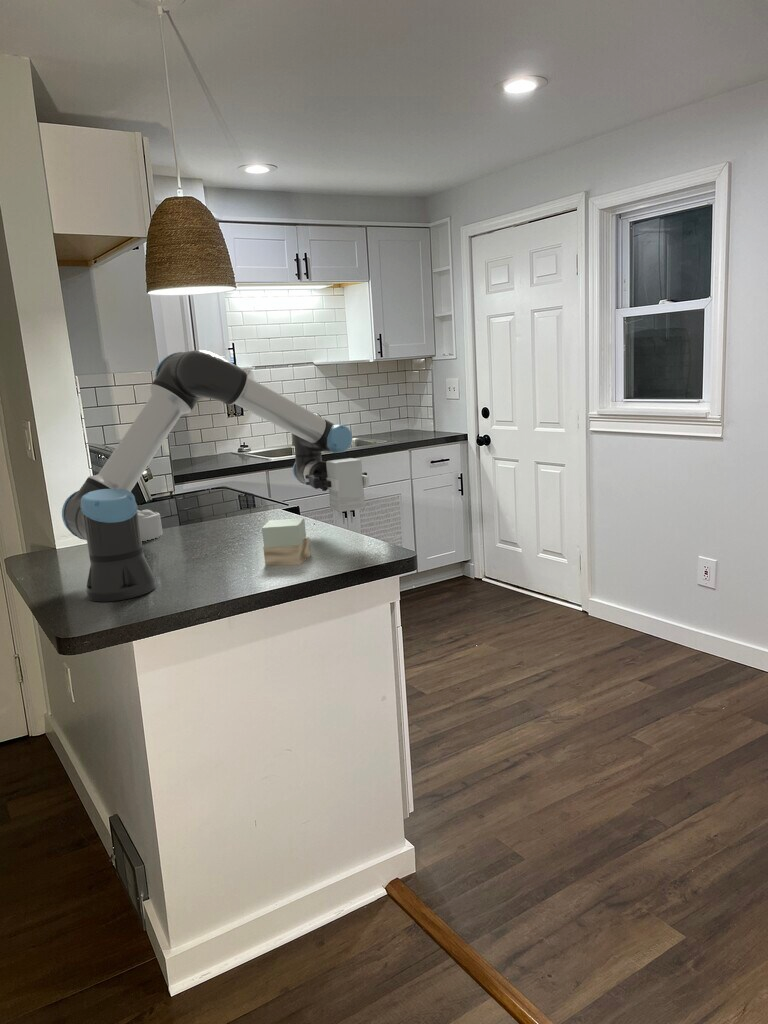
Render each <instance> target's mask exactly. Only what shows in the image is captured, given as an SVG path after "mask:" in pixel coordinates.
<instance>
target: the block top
mask: <svg viewBox="0 0 768 1024" xmlns="http://www.w3.org/2000/svg"><path fill="white" fill-rule="evenodd" d="M305 522H306V521H305V517H297V518H296V517H295V518H287V519H286V518H284V519H283V518H282V519H270V520H268V521H267V523H265V524H264V525H263V526H262V527H261V532H262V538H263V540H262V541H263V547H264V548H267V547H281V546H296V545H301V543H302V542H303V541H304V539H305V538H307V531H306V523H305Z"/></svg>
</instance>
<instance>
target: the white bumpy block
mask: <svg viewBox="0 0 768 1024" xmlns="http://www.w3.org/2000/svg"><path fill="white" fill-rule="evenodd" d="M137 512H138V519H139V526H140V533H141V540H142V541H145V540H149V539H152V538H155V537H158V536H160V535H162V534H163V526H162V519H161V514H160V513H159V512H157V511H152V510H150V509H143V510H137ZM163 535H164V534H163Z"/></svg>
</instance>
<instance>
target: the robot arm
mask: <svg viewBox="0 0 768 1024" xmlns="http://www.w3.org/2000/svg"><path fill="white" fill-rule="evenodd" d="M154 376H155V378H154V380H153V381H152V383H151V384H150V386H149V389H150V394H151V396H150V397H149V399H148V400H147V402H146V403H145V404H144V406H143V408H142V409H141V410H140V412H139V413H138V415H137V416H136V418H135V419H134V421H133V423H131V425H130V426H129V428H128V430H127V431H126V433H125V434H124V436H123V437H122V439H121V440H120V441H119V443H118V444H117V446H116V447H115V449H114V450H113V452H112V453H111V455H110V456H109V458H108V459H107V461H106V462H105V464H104V465H103V466H102V468H101V469H100V471H99V472H98V474H96V475H95V474H93V475H90V476H88V477H87V478H86V480H85V481H84V483H83V484H82V485H81V487H80V488H79V490H77V491H75V492H73V493H71V494H70V495H69V496H68V497H67V498H66V500H65V501H64V503H63V505H62V509H61V517H62V521H63V524H64V526H65V528H66V529H67V530H68V531H69V532H70V533H71V534H72V535H73V536H75V537H77V538H78V539H80V540H84V541H86V544H87V550H88V555H89V556H88V557H89V562H90V566H89V571H88V575H87V576H88V577H87V582H86V589H85V590H86V597H87V599H88V600H89V601H93V602H105V603H106V602H117V601H123V600H128V599H129V600H130V599H133V598H136V597H140V596H143V595H145V594H148V593H150V592H152V591H153V590H155V589H156V587H157V584H156V583H157V582H156V577H155V575H154V573H153V571H152V569H151V567H150V565H149V563H148V561H147V559H146V557H145V555H144V549H143V542H142V540H141V533H140V526H139V519H138V512H137V510H138V509H139V508H138V504H137V502H136V497H135V495H134V494H133V493H132V490H133V489H134V488H135V486H136V484H137V483H138V481H139V479H141V477H142V475H143V474H144V472H145V471H146V469H147V467H148V466H149V465H150V463H151V462H152V460H153V459H154V458H155V456H156V454H157V453H158V451H159V449H160V448H161V446H162V445H163V443H164V442H165V440H166V439H167V437H168V436H169V434H170V433H171V431H172V430H173V428H174V427H175V426H176V424H177V422H178V421H179V419H180V418H181V416H183V415H186V414H190V413H191V412H192V411H193V409H194V407H195V406H196V405H197V403H198V401H199V400H200V399H203V398H204V399H205V398H206V399H209V400H210V399H212V400H214V401H219V402H221V403H223V404H225V405H227V406H232V405H236V406H238V407H240V408H241V409H244V410H246V411H248V412H250V413H252V414H254V415H256V416H258V417H259V418H261V419H263V420H265V421H267V422H268V423H271V424H273V425H275V426H277V427H279V428H281V429H282V430H285V431H287V432H289V433H291V434H292V437H293V444H294V445H293V447H294V453H295V455H294V456H295V458H294V459H295V462H294V464H293V466H292V475H293V477H294V478H295V479H296V480H297V481H298V482H299V483H301V484H303V485H306V486H310V487H311V488H313V489H316V490H321V491H322V492H326V491H328V490H329V489H331V490H334V491H339V481H338V480H336V479H333V478H328V477H327V465H326V461H324V460H322V459H323V458H322V453H325V452H326V453H333V454H339V453H345V452H346V451H348V450H349V449H350V448H351V445H352V443H353V435H352V432H351V430H350V428H349V427H347V426H346V425H343V424H340V423H336V424H335V423H333V422H331V421H329V420H327V419H325V418H323V417H322V416H320V415H318V414H316V413H314V412H313V411H310V410H309V409H307V408H305V407H304V406H302V405H300V404H298V403H296V402H295V401H293V400H291V399H289V398H287V397H285V396H283V395H282V394H280V393H278V392H277V391H274V390H273V389H271V388H269V387H268V386H266V385H263V384H262V383H260V382H259V381H256V380H255V379H253V378H251V377H249V374H248V371H246V370H245V369H243V368H241V367H240V366H238V365H236V364H234V363H233V362H231V361H229V360H228V359H226V358H224V357H222V356H220V355H219V354H216V353H213V352H212V351H208V350H205V349H193V350H189V351H177V352H173V353H171V354H169V355H167V356H166V357H164V358H163V359H162V360H161V361H160V363H158V365H157V367H156V370H155V375H154ZM362 477H363V487H365V488H369V487H370V481H369V480H370V479H369V475H368V472H366V471H362Z"/></svg>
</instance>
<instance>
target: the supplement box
mask: <svg viewBox="0 0 768 1024" xmlns="http://www.w3.org/2000/svg"><path fill="white" fill-rule="evenodd" d="M325 462H326V465H327V477H328V478H333V479H336V480H338V481H339V491H334V490H331V489H328V496H329V497H328V498H329V507H330V509H331V510H334V511H336V512H339V513H341V512H349V511H356V510H363V509H365V508H366V506H365V504H366V503H365V493H364V492H365V491H364V486H363V477H362V472H363V464H362V459H358V458H353V457H349V458H348V457H347V458H339V459H332V460H327V461H325Z"/></svg>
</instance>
